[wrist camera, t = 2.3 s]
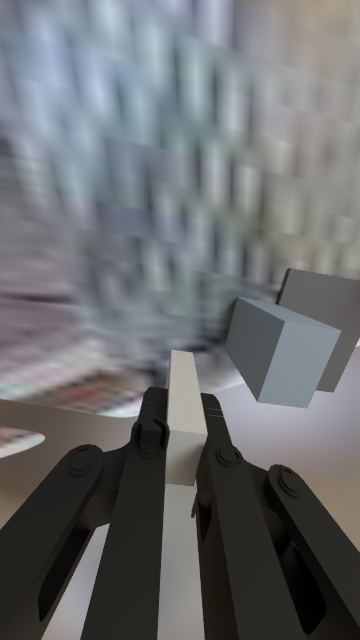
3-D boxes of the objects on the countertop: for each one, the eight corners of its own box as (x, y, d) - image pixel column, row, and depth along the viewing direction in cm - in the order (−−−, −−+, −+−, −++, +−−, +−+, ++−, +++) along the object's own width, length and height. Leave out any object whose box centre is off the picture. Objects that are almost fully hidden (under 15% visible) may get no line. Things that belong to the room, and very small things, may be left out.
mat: (252, 379, 31) (253, 381, 30) (288, 268, 26) (290, 268, 25) (331, 390, 32) (333, 392, 31) (380, 285, 27) (384, 285, 26)
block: (224, 347, 29) (257, 402, 17) (237, 296, 27) (285, 321, 15) (255, 351, 29) (307, 408, 18) (270, 302, 27) (341, 330, 16)
